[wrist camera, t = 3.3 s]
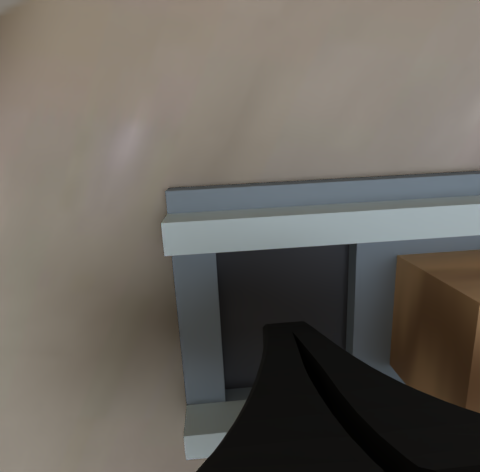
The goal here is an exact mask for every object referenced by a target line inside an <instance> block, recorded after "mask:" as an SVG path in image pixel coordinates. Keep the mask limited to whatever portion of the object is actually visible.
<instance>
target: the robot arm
mask: <svg viewBox="0 0 480 472" xmlns="http://www.w3.org/2000/svg"><path fill="white" fill-rule="evenodd" d="M196 472H480V413H478V412H475V411H472V410H469V409H466V408H463V407H460V406H457V405H454V404H452V403H449V402H446V401H443V400H441V399H439V398H436V397H434V396H431V395H429V394H426V393H424V392H421V391H419V390H417V389H414V388H412V387H410V386H408V385H406V384H403V383H401V382H399V381H397V380H396V379H394V378H392V377H390V376H388V375H386V374H384V373H382V372H380V371H378V370H376V369H374V368H373V367H371V366H369V365H368V364H366V363H364V362H363V361H361V360H359V359H358V358H356V357H355V356H353V355H351V354H350V353H348V352H347V351H345V350H344V349H342V348H341V347H340V346H338V345H337V344H335V343H334V342H332V341H331V340H330V339H328V338H327V337H326V336H324V335H323V334H321V333H320V332H319V331H317V330H316V329H315V328H313V327H312V326H311V325H309V324H308V323H306V322H305V321H298V322H285V323H273V324H266V325H265V326H264V327H263V353H262V359H261V363H260V366H259V369H258V372H257V376H256V379H255V381H254V384H253V386H252V389H251V391H250V393H249V396H248V398H247V400H246V402H245V404H244V406H243V408H242V410H241V411H240V413H239V415H238V417H237V419H236V420H235V422H234V423H233V425H232V426H231V428H230V429H229V431H228V432H227V434H226V435H225V437H224V438H223V439H222V441H221V442H220V444H219V445H218V447H217V448H216V449H215V450H214V452H213V453H212V454H211V455H210V456H209V457H208V459H207V460H206V461H205V462H204V463H203V464H202V466H201V467H200V468H199V469H198V470H197V471H196Z"/></svg>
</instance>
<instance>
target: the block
mask: <svg viewBox="0 0 480 472" xmlns="http://www.w3.org/2000/svg"><path fill="white" fill-rule="evenodd" d="M390 366H391V367H392V368H393V369H394V371H395V372H396V373H397V374H398V376H399V377H400V378H401V379H402V380H403V382H404V383H405V384H406V385H408V386H410V387H412V388H414V389H417V390H419V391H421V392H424V393H426V394H429V395H431V396H434V397H436V398H439V399H441V400H443V401H446V402H449V403H452V404H454V405H457V406H460V407H463V408H466V409H469V410H472V411H475V412H478V413H480V249H479V250H465V251H451V252H436V253H422V254H407V255H397V264H396V278H395V293H394V307H393V322H392V336H391V351H390Z"/></svg>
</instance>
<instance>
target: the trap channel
mask: <svg viewBox="0 0 480 472" xmlns="http://www.w3.org/2000/svg"><path fill="white" fill-rule="evenodd" d="M165 194H166V204H167V213H168V214H167V215H166V217H165V218H164V220H163V221H162V223H161V229H162V238H163V248H164V256H172V263H173V273H174V283H175V293H176V303H177V313H178V323H179V333H180V343H181V353H182V363H183V373H184V383H185V393H186V403H187V408H186V417H185V427H184V446H185V455H186V460H192V459H201V458H208V457H209V456H210V455H211V454H212V453H213V452H214V450H215V449H216V448H217V447H218V445H219V444H220V442H221V441H222V439H223V438H224V437H225V435H226V434H227V432H228V431H229V429H230V428H231V426H232V425H233V423H234V422H235V420H236V419H237V417H238V415H239V413H240V411H241V410H242V408H243V406H244V404H245V402H246V400H247V398H248V396H249V393H250V391H251V389H252V386H253V384H254V381H255V379H256V376H257V372H258V369H259V366H260V363H261V359H262V353H263V327H264V326H265V325H266V324H273V323H285V322H298V321H305V322H306V323H308V324H309V325H311V326H312V327H313V328H315V329H316V330H317V331H319V332H320V333H321V334H323V335H324V336H326V337H327V338H328V339H330V340H331V341H332V342H334V343H335V344H337V345H338V346H340V347H341V348H342V349H344V350H345V351H347V352H348V353H350V354H351V355H353V356H355V357H356V358H358V359H359V360H361V361H363V362H364V363H366V364H368V365H369V366H371V367H373V368H374V369H376V370H378V371H380V372H382V373H384V374H386V375H388V376H390V377H392V378H394V379H396V380H397V381H399V382H401V383H403V384H405V383H404V382H403V380H402V379H401V378H400V377H399V376H398V374H397V373H396V372H395V371H394V369H393V368H392V367H391V366H390V351H391V336H392V322H393V307H394V293H395V278H396V264H397V255H407V254H422V253H436V252H451V251H465V250H479V249H480V171H469V172H451V173H433V174H414V175H396V176H378V177H360V178H342V179H323V180H305V181H287V182H269V183H250V184H232V185H214V186H196V187H178V188H168V189H167V190H166V191H165Z"/></svg>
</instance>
